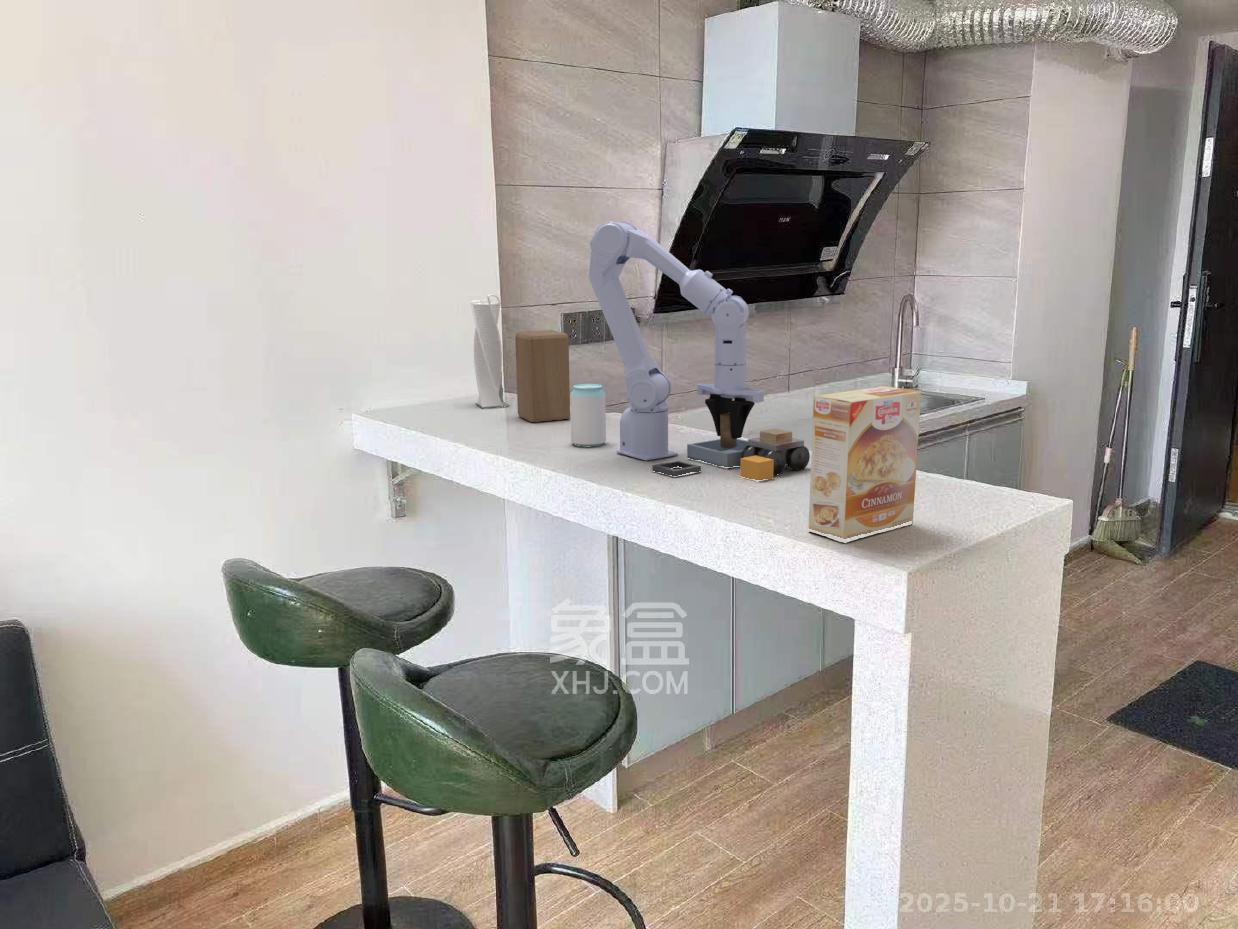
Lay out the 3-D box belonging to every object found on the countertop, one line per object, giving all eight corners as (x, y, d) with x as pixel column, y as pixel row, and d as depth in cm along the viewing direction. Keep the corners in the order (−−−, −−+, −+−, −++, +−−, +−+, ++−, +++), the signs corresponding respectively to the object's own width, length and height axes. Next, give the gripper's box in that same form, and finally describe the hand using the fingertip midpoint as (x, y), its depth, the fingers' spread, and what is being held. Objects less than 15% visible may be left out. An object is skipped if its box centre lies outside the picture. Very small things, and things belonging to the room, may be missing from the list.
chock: (740, 478, 168) (740, 458, 168) (755, 474, 171) (755, 455, 170) (758, 482, 165) (758, 462, 164) (773, 479, 167) (773, 459, 166)
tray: (687, 458, 183) (687, 444, 182) (730, 451, 189) (730, 436, 189) (727, 469, 174) (727, 453, 174) (770, 460, 181) (771, 445, 180)
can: (611, 442, 199) (611, 384, 196) (596, 449, 193) (595, 388, 190) (581, 439, 202) (579, 382, 199) (565, 446, 195) (563, 387, 193)
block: (516, 416, 229) (513, 331, 224) (556, 413, 233) (554, 329, 229) (531, 423, 220) (528, 335, 216) (571, 420, 224) (570, 332, 220)
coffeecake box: (845, 545, 131) (851, 401, 126) (805, 532, 136) (810, 394, 132) (915, 525, 139) (924, 390, 135) (876, 514, 145) (882, 384, 140)
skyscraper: (511, 407, 242) (507, 293, 235) (479, 410, 239) (474, 294, 232) (502, 402, 249) (498, 292, 243) (471, 405, 246) (466, 292, 240)
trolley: (740, 470, 173) (740, 432, 172) (781, 462, 180) (782, 425, 178) (768, 477, 168) (769, 438, 166) (809, 468, 174) (811, 430, 173)
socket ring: (652, 471, 173) (652, 465, 173) (678, 466, 177) (678, 460, 176) (674, 477, 168) (674, 471, 168) (700, 472, 172) (700, 466, 172)
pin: (717, 446, 181) (716, 414, 180) (727, 443, 183) (727, 412, 182) (729, 448, 179) (729, 416, 178) (740, 445, 181) (739, 414, 180)
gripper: (686, 362, 180) (686, 434, 183) (746, 369, 170) (745, 445, 173) (711, 359, 185) (711, 429, 188) (772, 365, 175) (770, 439, 178)
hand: (729, 436), depth 181 cm, fingers closed on pin, 3 cm apart
